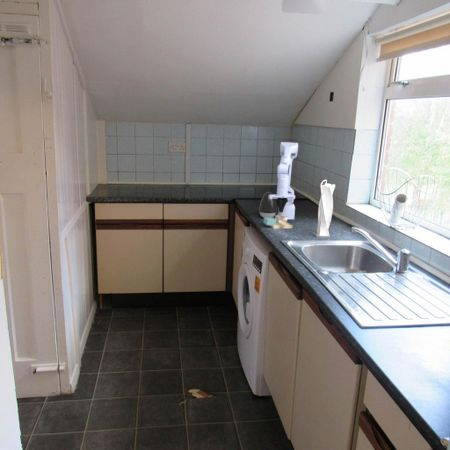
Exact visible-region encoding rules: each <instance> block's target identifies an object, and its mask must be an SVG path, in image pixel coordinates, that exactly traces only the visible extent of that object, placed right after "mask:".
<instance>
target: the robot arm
mask: <svg viewBox="0 0 450 450" xmlns="http://www.w3.org/2000/svg"><path fill="white" fill-rule="evenodd" d="M279 145H280V146H279V152H280V161H279V164H278V165H277V171H276V173H277V186H276V187H277V188H276V194H275V193H274V194H273V195H269V199H275V201H276V205H277V215H285V216H287V220H295V213H296V212H295V211H296V206H295V204H294V200H295V199H296V195H295V190H294V189H293V188H292V187H291V177H292V167H293V161H294V159H296V158H297V156H298V150H299V143H298V142H289V141H287V142H286V141H281V142H280V144H279Z"/></svg>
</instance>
